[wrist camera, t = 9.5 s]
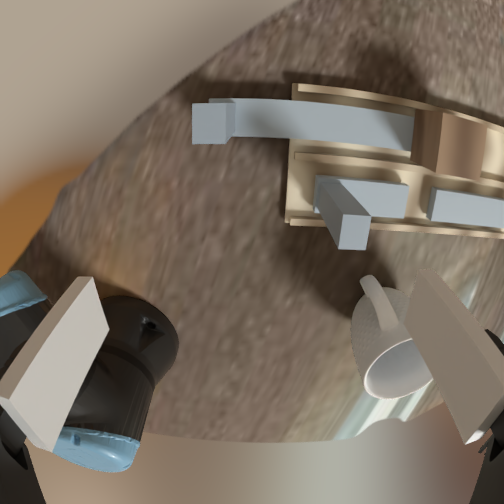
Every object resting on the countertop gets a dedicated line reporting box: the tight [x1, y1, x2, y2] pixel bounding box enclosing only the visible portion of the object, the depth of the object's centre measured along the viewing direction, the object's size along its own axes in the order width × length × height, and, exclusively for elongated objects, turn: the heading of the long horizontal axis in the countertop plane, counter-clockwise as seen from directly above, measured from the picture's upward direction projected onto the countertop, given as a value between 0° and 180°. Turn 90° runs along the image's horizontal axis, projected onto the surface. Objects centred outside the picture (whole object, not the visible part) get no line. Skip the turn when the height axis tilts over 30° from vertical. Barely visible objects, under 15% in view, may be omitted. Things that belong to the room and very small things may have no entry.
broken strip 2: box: [426, 187, 504, 228], centre depth 34 cm, size 15×4×1 cm, turn 89°
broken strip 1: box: [313, 175, 410, 250], centre depth 30 cm, size 11×4×11 cm, turn 89°
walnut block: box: [410, 109, 487, 181], centre depth 27 cm, size 6×6×6 cm
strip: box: [192, 98, 415, 152], centre depth 26 cm, size 30×4×11 cm, turn 89°
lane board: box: [285, 83, 504, 239], centre depth 33 cm, size 34×16×2 cm, turn 89°
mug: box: [351, 275, 433, 399], centre depth 37 cm, size 15×11×13 cm
